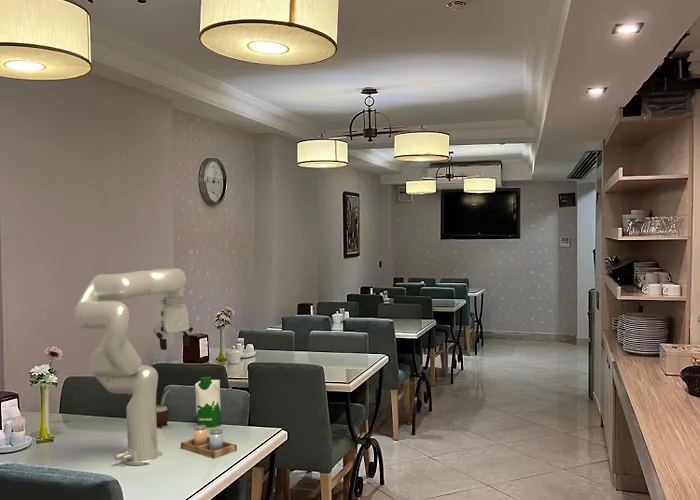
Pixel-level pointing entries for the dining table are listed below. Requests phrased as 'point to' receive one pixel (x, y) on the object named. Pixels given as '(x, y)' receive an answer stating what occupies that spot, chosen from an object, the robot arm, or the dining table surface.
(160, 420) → the mate gourd
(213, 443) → the salt shaker
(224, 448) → the caddy
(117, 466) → the dining table surface
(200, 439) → the pepper shaker
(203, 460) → the dining table surface
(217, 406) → the milk carton
